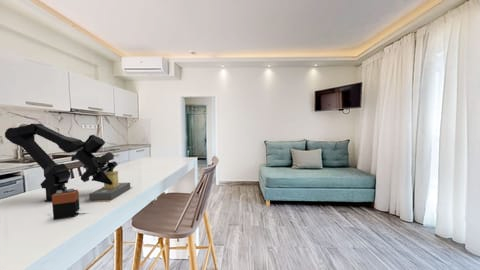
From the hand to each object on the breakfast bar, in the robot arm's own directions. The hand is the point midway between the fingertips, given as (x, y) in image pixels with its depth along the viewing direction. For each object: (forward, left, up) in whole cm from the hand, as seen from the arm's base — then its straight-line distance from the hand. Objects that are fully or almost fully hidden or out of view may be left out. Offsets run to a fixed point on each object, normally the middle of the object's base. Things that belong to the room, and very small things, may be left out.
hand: (114, 182), depth 97 cm
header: (-1, 0, -7) cm, 7 cm away
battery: (-13, -16, -7) cm, 22 cm away
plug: (-1, +1, -5) cm, 5 cm away
